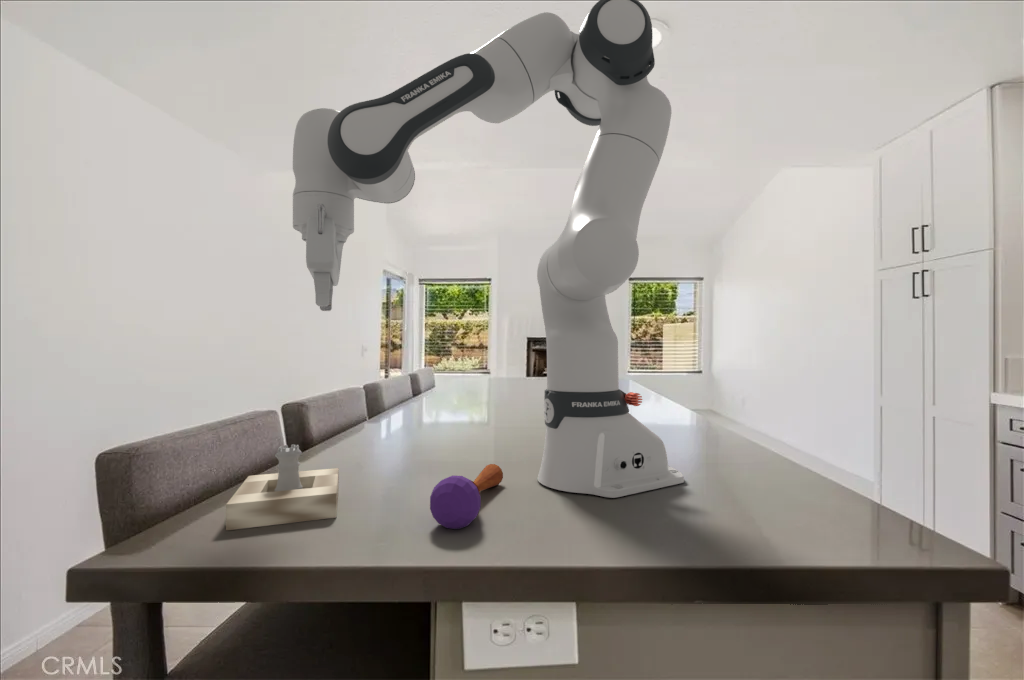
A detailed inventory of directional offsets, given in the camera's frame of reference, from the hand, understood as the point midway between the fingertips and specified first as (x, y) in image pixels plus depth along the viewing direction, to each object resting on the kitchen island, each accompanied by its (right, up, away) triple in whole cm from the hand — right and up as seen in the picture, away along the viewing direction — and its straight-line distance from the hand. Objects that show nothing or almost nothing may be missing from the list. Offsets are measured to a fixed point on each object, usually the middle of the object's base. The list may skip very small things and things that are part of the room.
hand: (324, 308), depth 73 cm
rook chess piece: (-1, -27, -10) cm, 29 cm away
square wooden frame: (-1, -27, -10) cm, 29 cm away
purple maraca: (+24, -27, -10) cm, 38 cm away
